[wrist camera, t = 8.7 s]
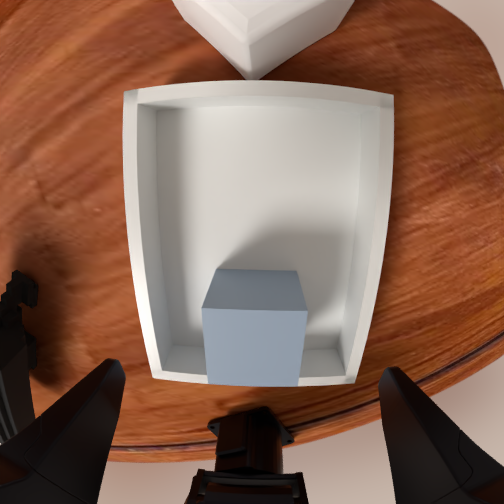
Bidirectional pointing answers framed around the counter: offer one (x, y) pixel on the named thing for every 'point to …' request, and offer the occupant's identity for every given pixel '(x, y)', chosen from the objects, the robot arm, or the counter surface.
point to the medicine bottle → (262, 28)
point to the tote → (257, 209)
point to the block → (254, 328)
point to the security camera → (16, 357)
